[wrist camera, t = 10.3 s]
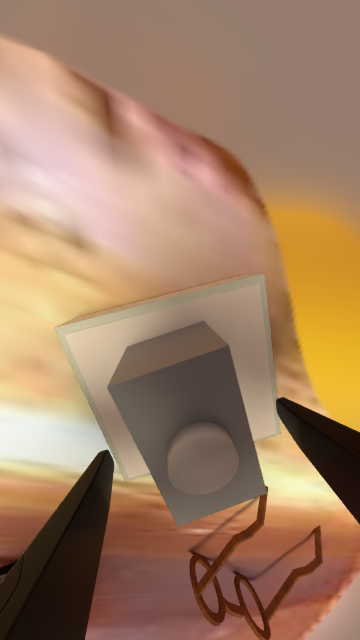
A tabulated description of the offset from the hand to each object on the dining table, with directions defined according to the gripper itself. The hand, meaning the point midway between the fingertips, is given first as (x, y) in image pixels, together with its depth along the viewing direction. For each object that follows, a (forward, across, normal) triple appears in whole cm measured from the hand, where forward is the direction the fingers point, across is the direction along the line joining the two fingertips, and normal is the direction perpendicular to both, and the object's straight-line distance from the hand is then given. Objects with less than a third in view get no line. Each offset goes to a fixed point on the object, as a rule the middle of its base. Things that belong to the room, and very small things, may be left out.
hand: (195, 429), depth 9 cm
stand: (+6, 0, 0) cm, 6 cm away
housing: (+3, 0, 0) cm, 3 cm away
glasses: (+7, -4, +26) cm, 27 cm away
